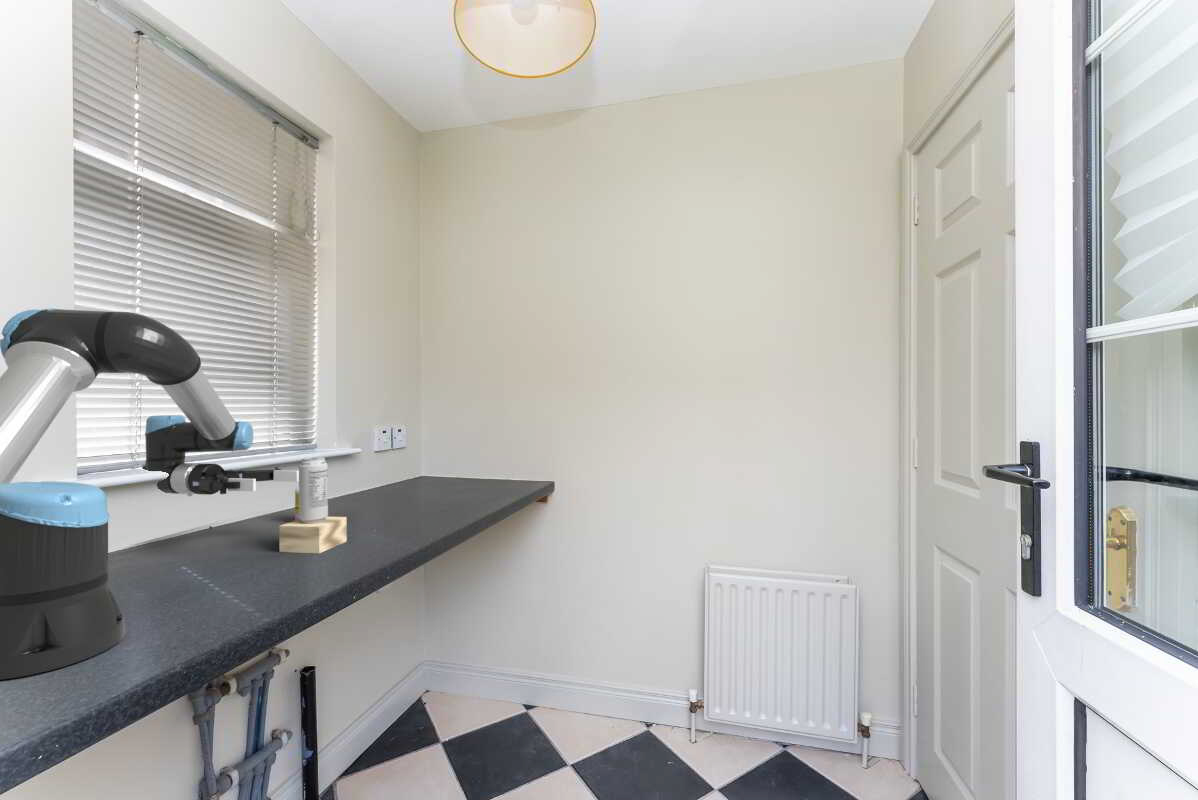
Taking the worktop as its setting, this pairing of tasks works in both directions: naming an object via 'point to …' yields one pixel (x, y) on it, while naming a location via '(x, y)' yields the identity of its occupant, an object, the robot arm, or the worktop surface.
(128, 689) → the worktop surface
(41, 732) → the worktop surface
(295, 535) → the oak block
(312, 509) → the energy drink can
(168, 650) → the worktop surface
